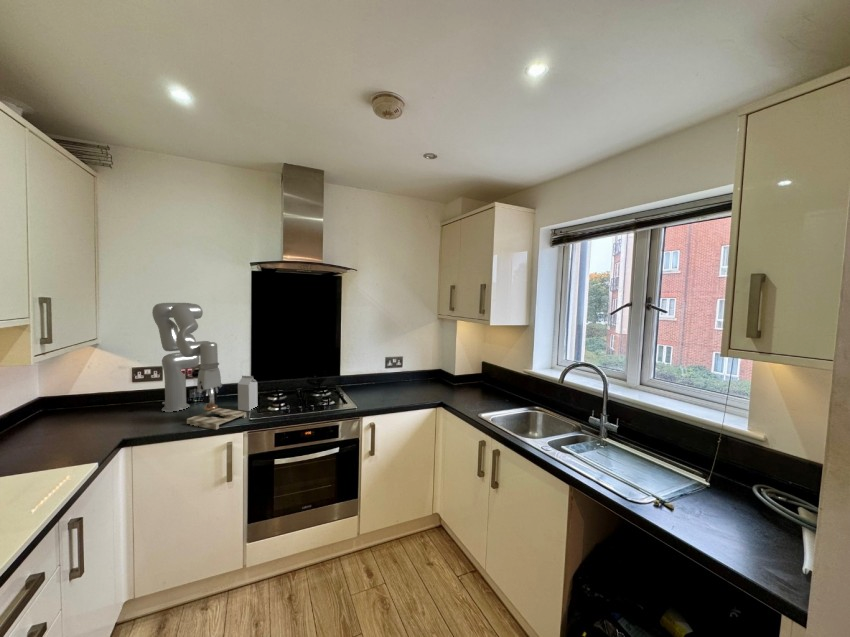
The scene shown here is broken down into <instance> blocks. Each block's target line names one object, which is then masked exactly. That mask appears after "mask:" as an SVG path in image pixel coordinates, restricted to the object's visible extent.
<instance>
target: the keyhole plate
mask: <svg viewBox="0 0 850 637" xmlns="http://www.w3.org/2000/svg"><path fill="white" fill-rule="evenodd" d="M210 414H213V415H214V414H215V415H219V416H220V417H216V416H210V417H208V416H206V415H210ZM239 417H242V418H241V419H246V418H247V411H243V410H233V409H229V408H228V409H227V408H221V407H218V408H217V409H215V410H209V411H206V412H203V413H200V414H197V415H194V416H192V417H188V418H186V425H187V424H190V425H189V426H192V425H194V426H193V427H198V426H199V427H198V428H205V429H211V430H218V429H220V425H222V424H224V423H227V422H230V421H233V420H234V419H237V418H239ZM245 417H246V418H245Z"/></svg>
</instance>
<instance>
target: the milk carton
mask: <svg viewBox="0 0 850 637" xmlns="http://www.w3.org/2000/svg"><path fill="white" fill-rule="evenodd" d="M258 392H259V391H258V381H257V380H256V379H254V375H241V379H240V380H239V381H238V383H237V411H242V412H250V411H252V410H254V409H253V408H255V407H257V406H259V405H258V402H259V401H258V397H259V396H258ZM257 408H258V407H257ZM251 409H252V410H251ZM255 409H256V408H255Z"/></svg>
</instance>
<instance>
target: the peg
mask: <svg viewBox="0 0 850 637" xmlns="http://www.w3.org/2000/svg"><path fill="white" fill-rule="evenodd" d="M214 389H215V388H211V389H209V392H208V395H209V399H210V402H209V403H205V406H203V411H206V412H209V411H212V410H215V409H218V408H219V406H218V404H216V403H215V402H216V401H215V396H214Z"/></svg>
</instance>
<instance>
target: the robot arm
mask: <svg viewBox="0 0 850 637" xmlns="http://www.w3.org/2000/svg"><path fill="white" fill-rule="evenodd" d="M203 313H204V312H203V308H202V306H200V305H199V304H196V303H191V302H161V303H157V304H155V305H154V306H153V308H152V317H153V321H154V322H155V324H156V327H157V328H158V332H159V333H158V334H159V337H160V338H159V339H160V343H161V346H162V349H163V350H164V351H165V352H173V353H168V354H165V355H164V356H163V357H162V359H161V365H162V368H163V376H164V377H163V378H164V401H162V403H161V404H162V405H164V407H162V409H161V411H162V412H163V411H165V412H164V413H174V412H173V411H177V412H180V411H179V410H182V411H184V410H183V409H185V410H187V409H186V408H188V407H189V408H190V407H191V406H190V404H189V403H187V382H186V381H187V380H186V378H187V377H186V375H185V373H183V372H182V370H183V369H184V370H185V369H191V368H195V367H196V368H197V366H199V364H200V370H198V373H197V374H198V375H197V390H196V393H199V394H201V395H202V396H203V404H206V403H209V402H210V399H209V395H208V392H209V389H211V388H214V396H215V402H217V401H218V393H219V390H220V389H221V388H222V387H223V384H222V380H221V379H222V377H221V371H220V367H219V365H220V362H219V360H218V359H219V357H218V354H219V353H218V344H217V343H216V342H213V341H209V340H200V341H197V340H196V338H195V336H194V335H193V333H194V332H196V331H197V330H198V328H199V323H198V322H197V320H198V319H201V318H202V317H203ZM172 319H173V320H174V321H173V320H172ZM177 351H178V352H177ZM189 408H188V409H189Z"/></svg>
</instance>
